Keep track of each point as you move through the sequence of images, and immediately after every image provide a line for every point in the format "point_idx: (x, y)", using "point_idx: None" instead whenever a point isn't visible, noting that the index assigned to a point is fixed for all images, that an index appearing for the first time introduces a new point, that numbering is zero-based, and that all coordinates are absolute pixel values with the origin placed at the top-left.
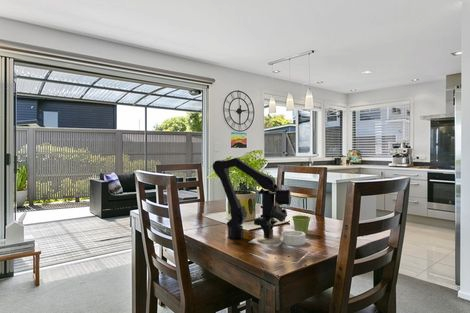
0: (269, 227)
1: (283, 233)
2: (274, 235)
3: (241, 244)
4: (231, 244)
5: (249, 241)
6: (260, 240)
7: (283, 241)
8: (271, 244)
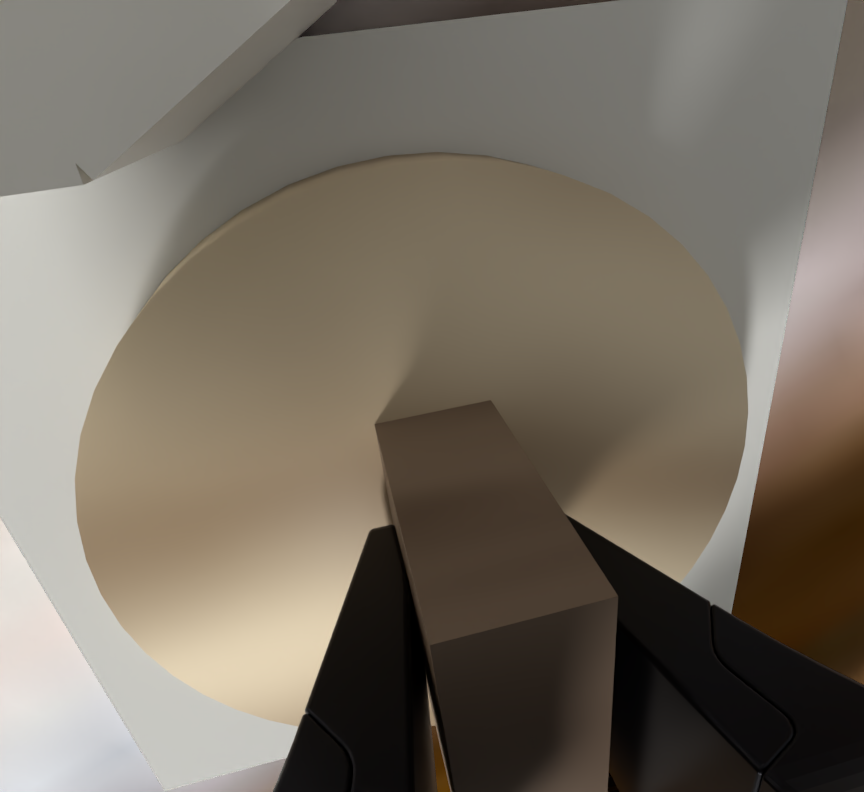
0: (851, 752)
1: (247, 5)
2: (85, 556)
3: (790, 639)
4: None
5: None
6: (719, 513)
7: (327, 6)
8: (700, 227)
